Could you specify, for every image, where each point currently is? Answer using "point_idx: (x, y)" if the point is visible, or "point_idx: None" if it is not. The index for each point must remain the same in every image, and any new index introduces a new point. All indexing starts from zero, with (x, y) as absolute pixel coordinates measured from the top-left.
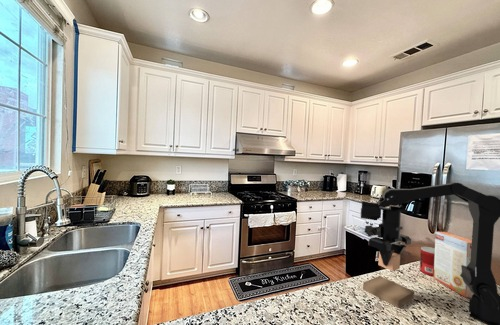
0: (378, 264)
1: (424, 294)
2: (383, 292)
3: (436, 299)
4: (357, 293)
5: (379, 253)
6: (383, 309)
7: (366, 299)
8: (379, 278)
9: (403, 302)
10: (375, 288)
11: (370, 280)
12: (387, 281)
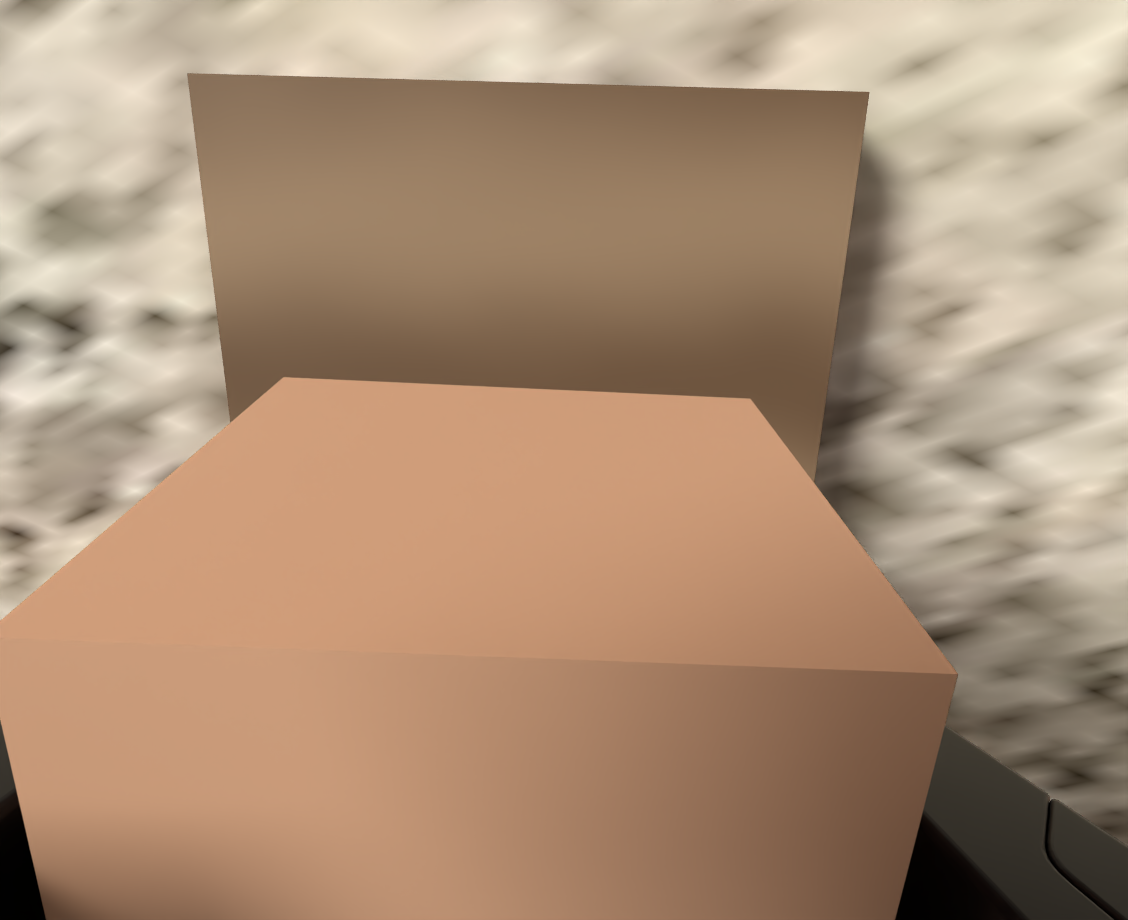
0: (282, 383)
1: (1019, 639)
2: None
3: (1002, 748)
4: (13, 112)
5: (54, 614)
6: (65, 526)
7: (23, 291)
8: (721, 155)
9: None
10: (231, 324)
11: (430, 105)
12: (740, 305)
